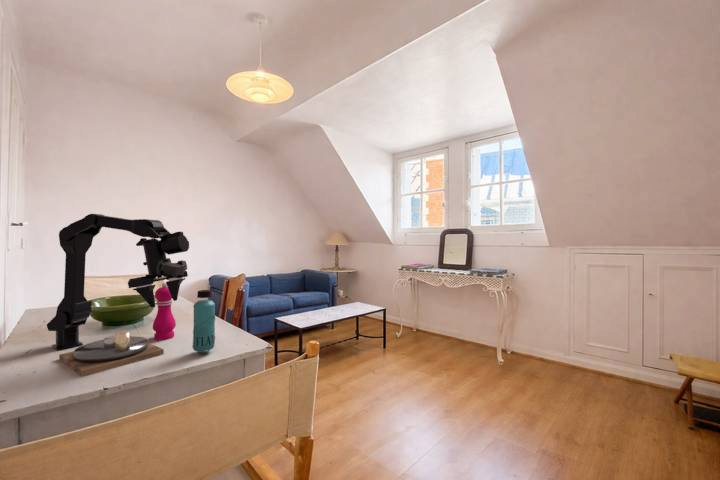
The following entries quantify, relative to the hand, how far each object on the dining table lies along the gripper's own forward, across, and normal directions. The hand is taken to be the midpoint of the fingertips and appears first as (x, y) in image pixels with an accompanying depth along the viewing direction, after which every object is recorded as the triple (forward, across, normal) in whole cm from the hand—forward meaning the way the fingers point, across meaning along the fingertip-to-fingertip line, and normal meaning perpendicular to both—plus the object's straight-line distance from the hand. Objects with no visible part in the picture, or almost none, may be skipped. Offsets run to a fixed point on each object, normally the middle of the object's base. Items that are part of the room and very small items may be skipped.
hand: (164, 303), depth 106 cm
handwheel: (+11, -10, +12) cm, 19 cm away
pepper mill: (+13, +9, +12) cm, 20 cm away
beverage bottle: (+18, -1, -12) cm, 21 cm away
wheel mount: (+12, -10, +12) cm, 20 cm away
